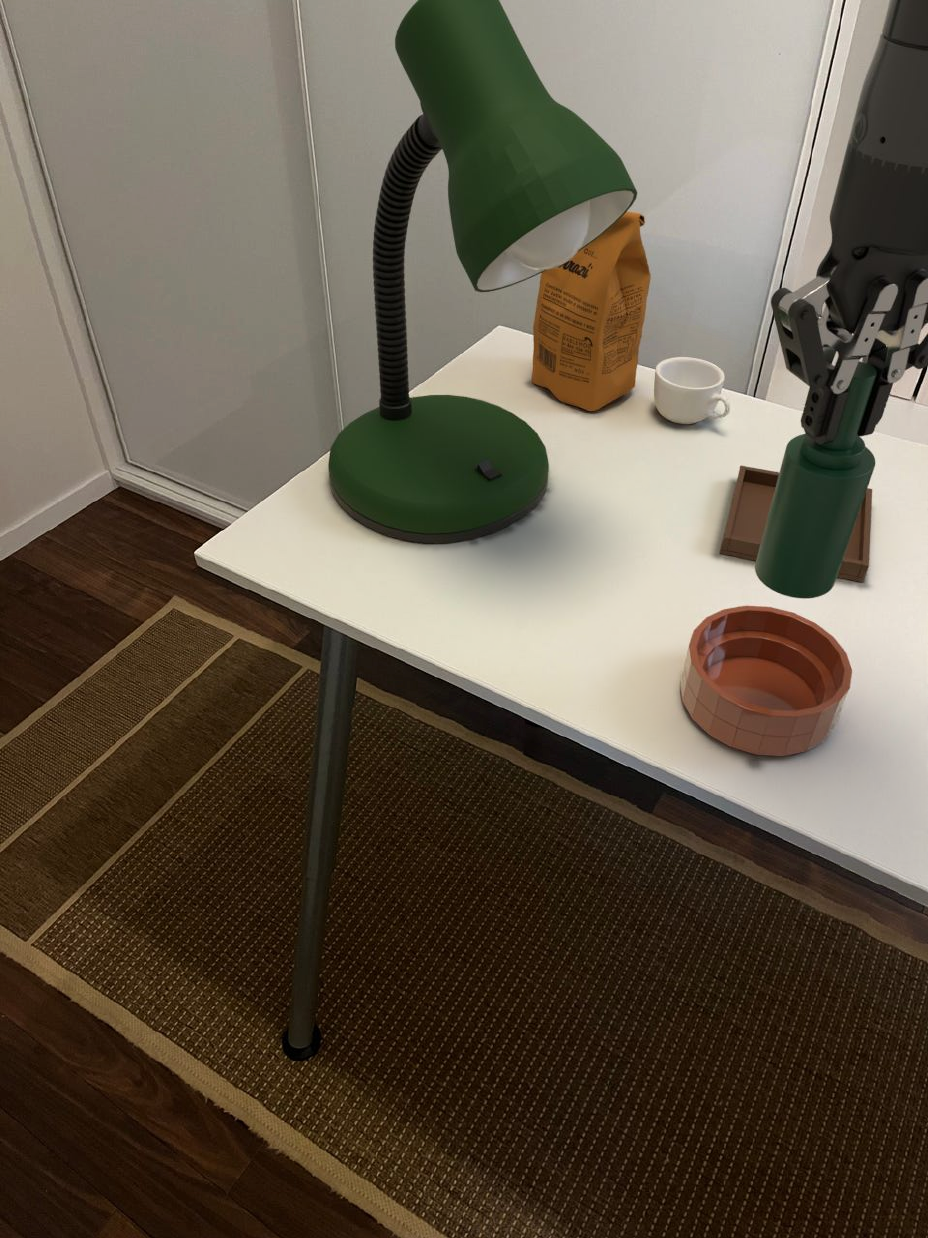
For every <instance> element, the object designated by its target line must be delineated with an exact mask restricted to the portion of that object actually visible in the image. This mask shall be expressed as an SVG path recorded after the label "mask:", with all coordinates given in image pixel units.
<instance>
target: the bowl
mask: <svg viewBox="0 0 928 1238" xmlns="http://www.w3.org/2000/svg"><path fill="white" fill-rule="evenodd" d="M686 652H687V653H686V657H685V661H684V665H683V670H682V675H681V679H680V682H679V683H680V685H679V687H680V693H681V701H682V704H683V705H684V707H685V709H686V710H687V712H688V714H689V715H690V717H691V719H692V720H693V721H694V722H695V723H696V724H697V725H698V726H699V727H700V728H701V729H702V730H704V732H705V733H707V734H708V735H709V736H710V737H712V738H714V739H715V740H717V741H719V742H721V743H723V744H725V745H726V746H728V747H731V748H733V749H736V750H739V751H743V752H745V753H750V754H753V755H758V756H772V757H773V756H774V757H785V756H790V755H794V754H800V753H804V752H805V753H806V752H808V751H809V750H812V749H813V748H815V747H817V746H818V745H820V744H822V743H824V741H826V739H827V738H828V736H829V735H830V734H831V732H832V731H833V729H834V728H835V726H836V725H837V724H836V723H837V721H838V718H839V716H840V714H841V711H842V709H843V706H844V703H845V701H846V698H847V697H848V694H849V691H850V688H851V684H852V676H853V669H852V666H851V662H850V659H849V657H848V654H847V652H846V651H845V649H844V648H843V647H842V645H841V644H840V643H839V641H838V640H837V639H836V637H835V636H833V635H832V634H831V633H830V632H828V631H826V630H825V629H824V628H823V627H821V626H820V625H819V624H817V623H816V622H814V621H812V620H810V619H809V618H805V617H803V616H802V615H800V614H797V613H795V612H792V611H788V610H784V609H780V608H776V607H771V606H763V605H762V606H760V605H741V606H735V607H729V608H723V609H721V610H719V611H717V612H715V613H713V614H711V615H708V616H706V617H705V618H704V619H703V620H702V621H701V622H700V623H699V624H698V625H697V626H696V627H695V628H694V630H693V632H692V634H691V638H690V640H689V643H688V647H687V651H686Z"/></svg>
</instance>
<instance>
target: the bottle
mask: <svg viewBox="0 0 928 1238" xmlns="http://www.w3.org/2000/svg"><path fill="white" fill-rule="evenodd" d="M876 375H877V371H876V369H875V368H874V367H873V366H871V365H869V364H867V363H864V362H862V361H860V360H859V362H858V365H857V367H856V370H855V372H854V375H853V377H852V379H851V382H850V384H849V386H848V388H847V389H846V391H847V392H848V395H847V398H846V401H845V405H844V408H843V411H842V415H841V418H840V421H839V425H838V428H837V431H836V435H835V438H834V440H833V442H832V443H828V444H823V445H819V444H818V443H817V442H815V441H814V440H813V439H812V438H810V437H809V436H808V435H807V434H806V433H805V432H804V433H802V434H798V435H796V436H795V437H792V438H791V440H789V441H788V442H787V444H786V446H785V450H784V454H783V458H782V461H781V465H780V469H779V472H780V473H779V476H778V480H777V484H776V488H775V491H774V495H773V499H772V503H771V506H770V510H769V514H768V518H767V522H766V525H765V529H764V533H763V537H762V540H761V544H760V548H759V552H758V556H757V559H756V561H755V563H754V571H755V575H756V576H757V579H758V580H759V581H760V582H761V583H762V584H763V585H764V586H765V587H767V588H768V589H769V590H772V591H773V592H774V593H777V594H779V595H782V596H786V597H789V598H795V599H815V598H819V597H822V596H825V595H826V594H828V593H830V592H831V590H832V589H833V588H834V586H835V584H836V581H837V578H838V577H837V575H838V572H839V569H840V566H841V564H842V561H843V558H844V555H845V552H846V549H847V546H848V543H849V540H850V537H851V534H852V531H853V529H854V526H855V523H856V520H857V517H858V514H859V511H860V508H861V505H862V502H863V499H864V497H865V494H866V491H867V488H868V487H869V485H870V482H871V479H872V476H873V473H874V470H875V467H876V458H875V456H874V454H873V452H872V451H871V450H870V449H869V448H868V447H867V446H866V443H865V441H864V440H863V438H862V436H858V435H857V434H858V431H859V428H860V425H861V422H862V419H863V415H864V412H865V409H866V406H867V403H868V400H869V397H870V394H871V390H872V387H873V384H874V381H875V378H876Z"/></svg>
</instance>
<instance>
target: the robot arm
mask: <svg viewBox="0 0 928 1238" xmlns="http://www.w3.org/2000/svg"><path fill="white" fill-rule="evenodd" d="M872 56H873V57H872V59H871V61H870V65H869V67H868V69H867V71H866V75H865V77H864V80H863V82H862V83H863V84H862V87H861V90H860V94H859V97H858V101H857V104H856V105H857V106H856V108H855V109H856V110H855V112H854V117H853V121H852V125H851V129H850V134H849V137H848V141H847V145H846V149H845V153H844V156H843V161H842V165H841V169H840V174H839V177H838V181H837V185H836V188H835V193H834V196H833V200H832V205H831V208H830V212H829V224H830V231H831V242H830V245H829V248H828V249H827V252H826V254H825V256H824V257H823V258H822V259H821V260H822V261H821V262H820V263H819V265H818V267H817V270H816V274H815V278H813V279H811V280H810V281H808V282H807V283H806V284H804V285H802V286H800V287H799V288H798V289H796V290H795V291H792V290H790V289H789V288H787V287H780V288H779V289H777V290H776V291H774V293H773V295H771V298H770V306H771V309H772V314H773V318H774V322H775V326H776V330H777V331H776V332H777V335H778V338H779V339H778V340H779V343H780V348H781V352H782V356H783V360H784V364H785V368H786V370H787V371H788V372H789V373H791V374H792V375H794V376H795V377H796V378H798V379H799V380H800V381H802V383H804V384H805V385H807V386H808V387H809V388H808V392H807V395H806V398H805V403H804V407H803V411H802V413H801V417H800V426H801V428H802V429H803V431H804V434H805V433H806V434H807V435H808V436H809V437H810V438H812V439H813V440H814V441H815V442H817V443H818V444H819V445H823V444H828V443H832V442H833V440H834V438H835V435H836V431H837V428H838V425H839V421H840V418H841V415H842V411H843V408H844V405H845V401H846V398H847V395H848V392H847V391H846V389H847V388H848V386H849V384H850V382H851V379H852V377H853V375H854V372H855V370H856V367H857V365H858V362H859V361H860V360H861V359H862V360H861V362H864V363H867V364H869V365H871V366H873V367H874V368H875V369H876V371H877V375H876V378H875V381H874V384H873V387H872V390H871V394H870V397H869V400H868V403H867V406H866V409H865V412H864V415H863V419H862V422H861V425H860V428H859V431H858V434H857V435H858V436H860V437H865V436H869V435H872V434H873V433H874V432H875V429H876V428H877V427H876V426H877V425H878V424H879V423H880V421H881V420H882V418H883V416H884V412H885V409H886V407H887V403H888V401H889V399H890V395H891V392H892V389H893V386H894V384H895V383H897V382H899V381H900V380H901V379H902V378H903V376H904V374H905V372H906V371H907V370H909V369H911V368H913V367H914V368H915V369H916V370H922V369H925V368H926V367H927V366H928V333H927V334H926V335H925V336H924V338H922V340H921V342H920V343H919V341H920V336H921V332H922V330H923V328H924V327H925V326H926V325H927V324H928V0H889V1H888V5H887V8H886V12H885V17H884V22H883V24H882V28H881V33H880V35H879V39H878V42H877V45H876V48H875V50H874V54H873V55H872ZM824 305H825V306H824ZM823 306H824V309H823ZM836 354H838V356H837V359H836V361H835V365H833V362H834V359H835V357H836Z"/></svg>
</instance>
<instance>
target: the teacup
mask: <svg viewBox="0 0 928 1238" xmlns="http://www.w3.org/2000/svg"><path fill="white" fill-rule="evenodd" d="M725 377H726V376H725V372H724V371H723V370H722V368H720V367H719V366H717V365H716V364H714V363H712V362H711V361H708V360H705V359H701V358H697V357H696V358H695V357H690V356H675V357H670V358H666V359H663V360H662V361H660V362H659V363H657V365H656V366H655V371H654V383H653V385H654V386H653V399H654V400H653V401H654V404H655V408H656V409H657V412H658V413H660V415H661V416H663V417H664V418H665V419H666V420H667V421H669V422H672V423H675V424H678V425H679V424H680V425H693V424H696V423H700V422H702V421H704V420H706V419H707V418H711V419H721V418H725V417H726V416H728V414H729V413H730V410H731V404H730V401H729V399H728V398H727V397H726V396H725V395H723V394H722V391H723V386H724V383H725ZM719 401H721V402H722V403H723V404H724V412H723V413H717V412H715V409H716V408H717V406H718V404H719Z"/></svg>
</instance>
